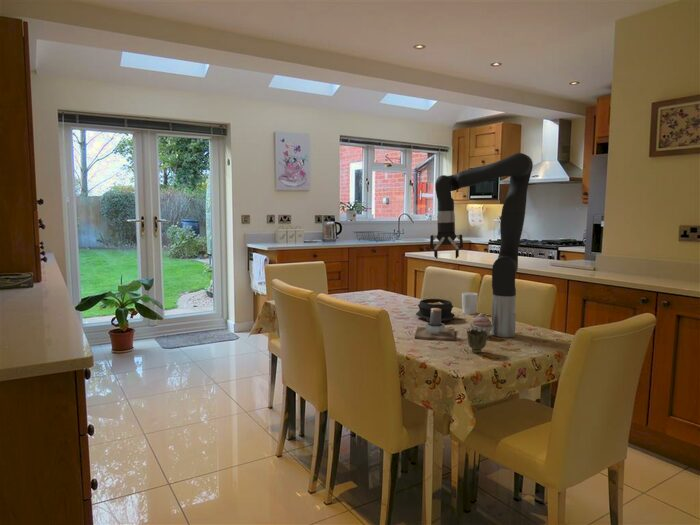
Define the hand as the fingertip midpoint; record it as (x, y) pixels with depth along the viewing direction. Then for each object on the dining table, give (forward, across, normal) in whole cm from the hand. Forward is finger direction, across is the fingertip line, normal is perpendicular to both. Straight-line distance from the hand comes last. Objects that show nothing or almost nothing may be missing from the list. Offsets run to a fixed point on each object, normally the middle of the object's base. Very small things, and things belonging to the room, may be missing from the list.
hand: (446, 258), depth 214 cm
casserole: (+31, -6, +17) cm, 36 cm away
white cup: (+31, +10, +33) cm, 47 cm away
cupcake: (+32, +14, -12) cm, 37 cm away
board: (+31, -5, -14) cm, 35 cm away
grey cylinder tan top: (+30, -5, -14) cm, 34 cm away
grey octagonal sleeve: (+30, -5, -14) cm, 34 cm away
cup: (+32, +11, -36) cm, 49 cm away
